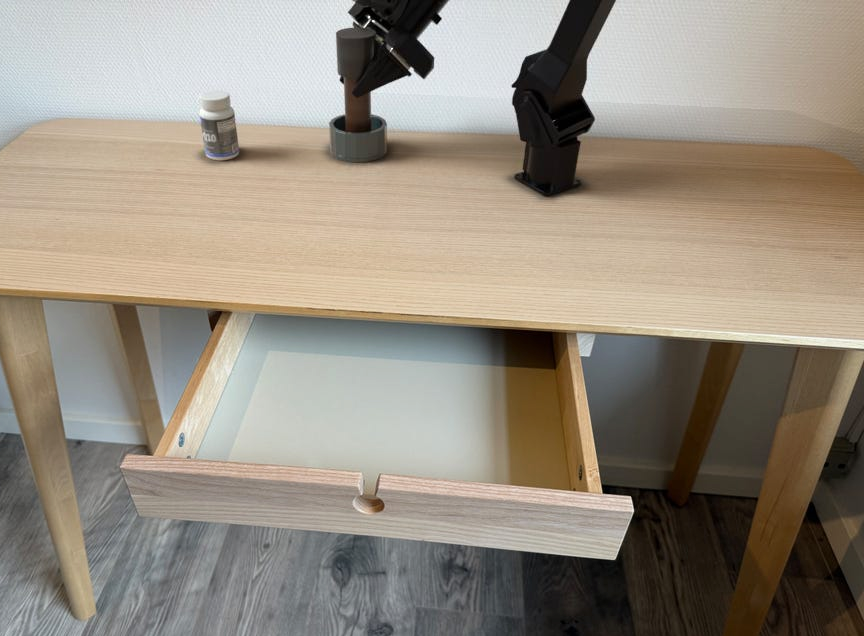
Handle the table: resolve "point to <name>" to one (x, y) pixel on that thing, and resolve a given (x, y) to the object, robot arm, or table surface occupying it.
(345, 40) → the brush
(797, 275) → the table surface
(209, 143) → the pill bottle
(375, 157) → the cup
